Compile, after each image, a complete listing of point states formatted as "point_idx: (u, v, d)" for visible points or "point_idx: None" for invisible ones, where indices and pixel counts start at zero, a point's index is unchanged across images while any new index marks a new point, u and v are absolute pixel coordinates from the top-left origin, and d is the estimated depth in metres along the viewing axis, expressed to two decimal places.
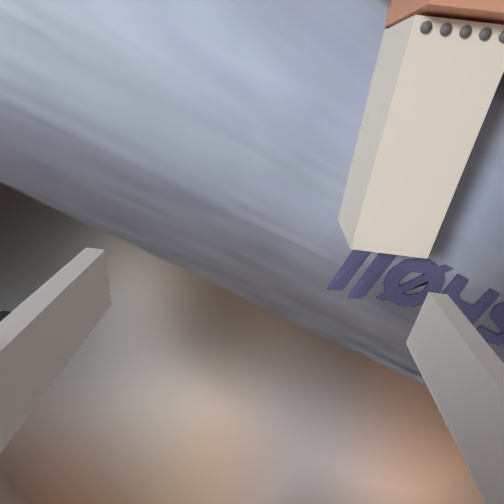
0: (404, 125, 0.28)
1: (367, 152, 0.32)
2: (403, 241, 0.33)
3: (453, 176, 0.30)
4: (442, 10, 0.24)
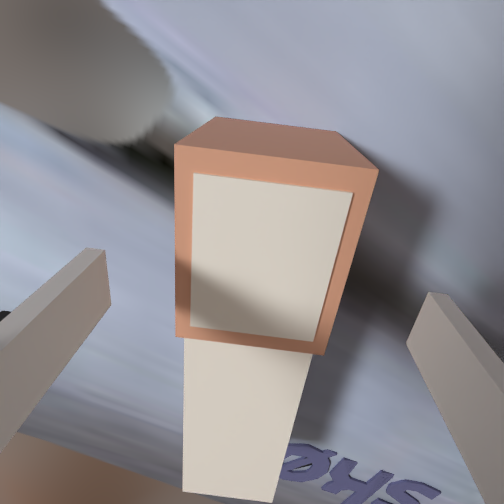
0: (207, 404, 0.23)
1: None
2: (240, 489, 0.28)
3: (279, 445, 0.25)
4: None
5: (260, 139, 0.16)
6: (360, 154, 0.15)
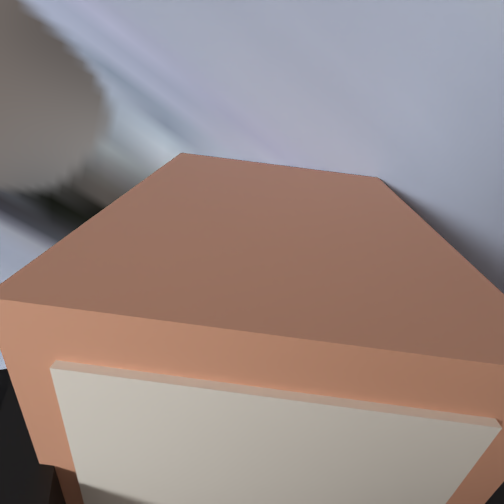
0: None
1: None
2: None
3: None
4: None
5: (247, 225, 0.07)
6: (471, 267, 0.07)
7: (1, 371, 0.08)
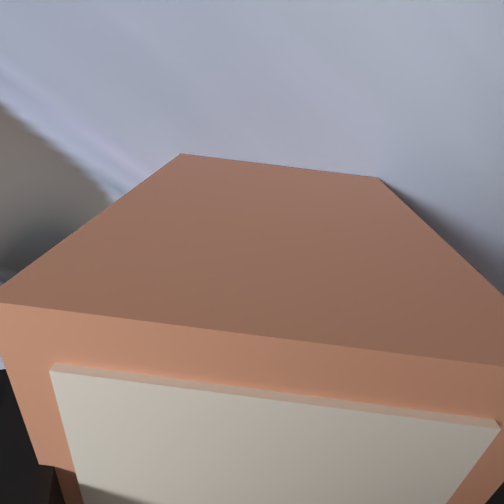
0: None
1: None
2: None
3: None
4: None
5: (246, 227, 0.07)
6: (470, 268, 0.07)
7: (1, 371, 0.08)
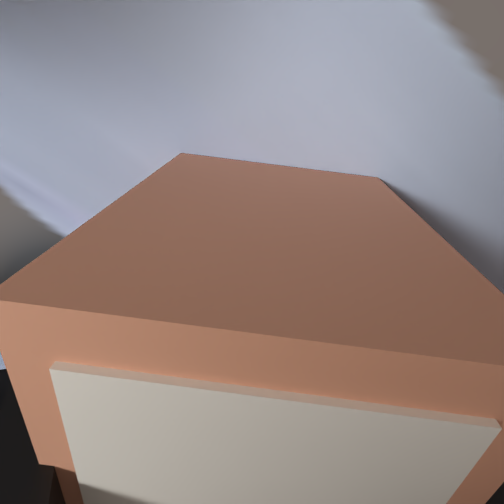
0: None
1: None
2: None
3: None
4: None
5: (247, 226, 0.07)
6: (471, 267, 0.07)
7: (1, 371, 0.08)
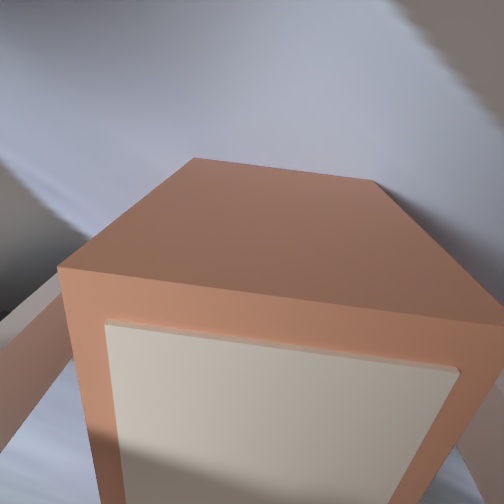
0: None
1: None
2: None
3: None
4: None
5: (256, 219, 0.09)
6: (445, 254, 0.08)
7: None
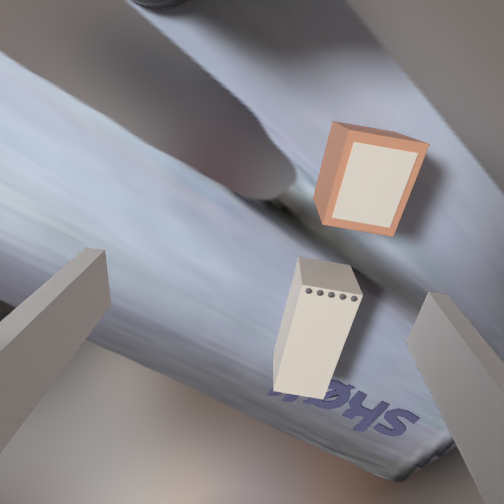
0: (301, 332, 0.45)
1: (284, 332, 0.49)
2: (307, 389, 0.50)
3: (334, 359, 0.47)
4: None
5: (372, 131, 0.35)
6: (417, 140, 0.34)
7: None
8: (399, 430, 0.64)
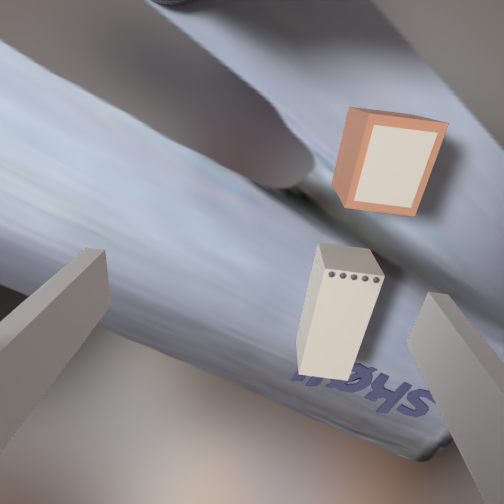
0: (325, 315, 0.47)
1: (307, 317, 0.51)
2: (331, 371, 0.52)
3: (357, 340, 0.48)
4: None
5: (390, 114, 0.35)
6: (436, 120, 0.35)
7: None
8: (422, 410, 0.65)
